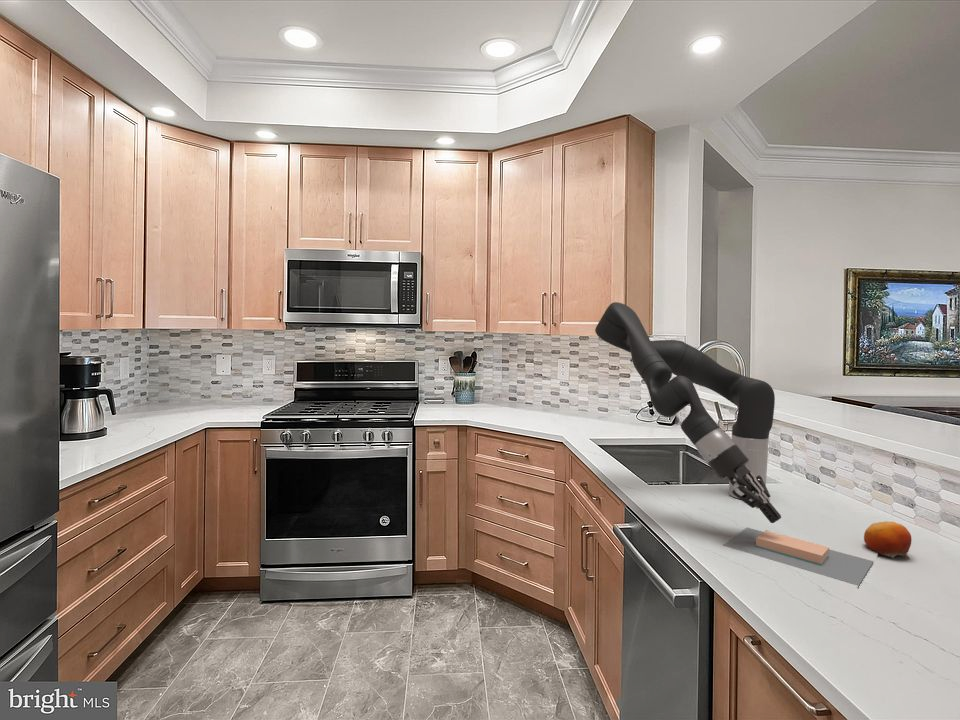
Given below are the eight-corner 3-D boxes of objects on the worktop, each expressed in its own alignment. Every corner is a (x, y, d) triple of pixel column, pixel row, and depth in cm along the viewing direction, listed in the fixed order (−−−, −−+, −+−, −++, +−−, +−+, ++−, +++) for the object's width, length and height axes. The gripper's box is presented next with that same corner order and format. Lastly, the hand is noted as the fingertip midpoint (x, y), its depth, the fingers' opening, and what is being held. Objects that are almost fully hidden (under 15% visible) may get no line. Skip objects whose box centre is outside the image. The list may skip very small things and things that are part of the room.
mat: (747, 530, 124) (747, 527, 124) (873, 564, 107) (873, 561, 107) (722, 547, 114) (722, 545, 114) (858, 588, 97) (858, 585, 97)
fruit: (901, 560, 106) (883, 519, 110) (867, 565, 113) (851, 526, 117) (931, 556, 108) (912, 516, 112) (895, 561, 115) (879, 523, 119)
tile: (765, 530, 117) (829, 547, 109) (765, 539, 117) (828, 556, 109) (756, 537, 113) (822, 555, 105) (755, 546, 113) (821, 565, 105)
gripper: (719, 457, 127) (772, 521, 119) (696, 467, 118) (752, 537, 110) (744, 439, 123) (800, 504, 115) (722, 447, 114) (782, 519, 106)
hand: (776, 520), depth 113 cm, fingers closed
